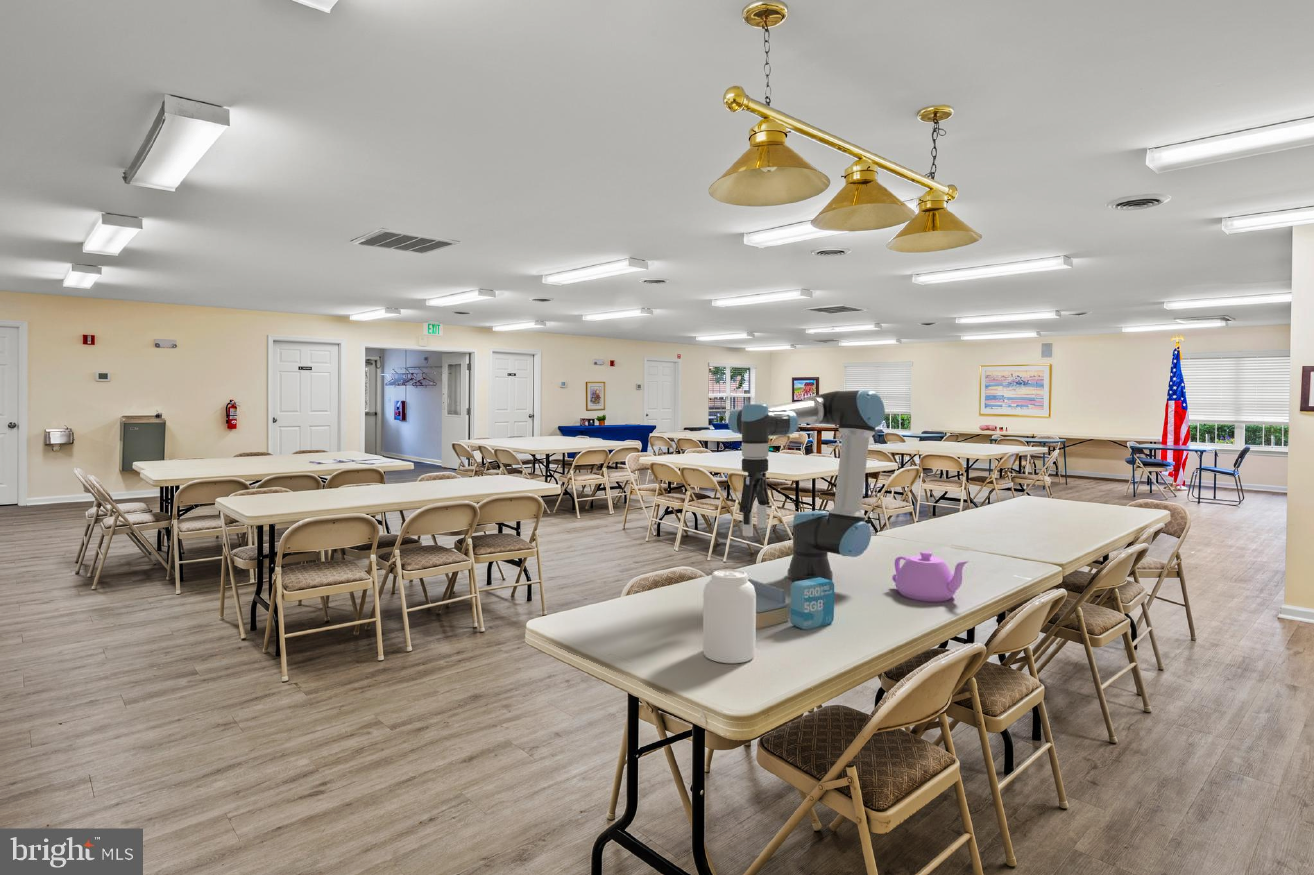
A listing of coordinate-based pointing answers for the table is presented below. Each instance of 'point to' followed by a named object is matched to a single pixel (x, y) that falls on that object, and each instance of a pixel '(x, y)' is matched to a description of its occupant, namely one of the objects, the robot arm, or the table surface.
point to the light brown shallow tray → (772, 617)
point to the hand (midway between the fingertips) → (754, 531)
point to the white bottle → (729, 617)
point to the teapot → (927, 578)
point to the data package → (812, 603)
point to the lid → (768, 596)
